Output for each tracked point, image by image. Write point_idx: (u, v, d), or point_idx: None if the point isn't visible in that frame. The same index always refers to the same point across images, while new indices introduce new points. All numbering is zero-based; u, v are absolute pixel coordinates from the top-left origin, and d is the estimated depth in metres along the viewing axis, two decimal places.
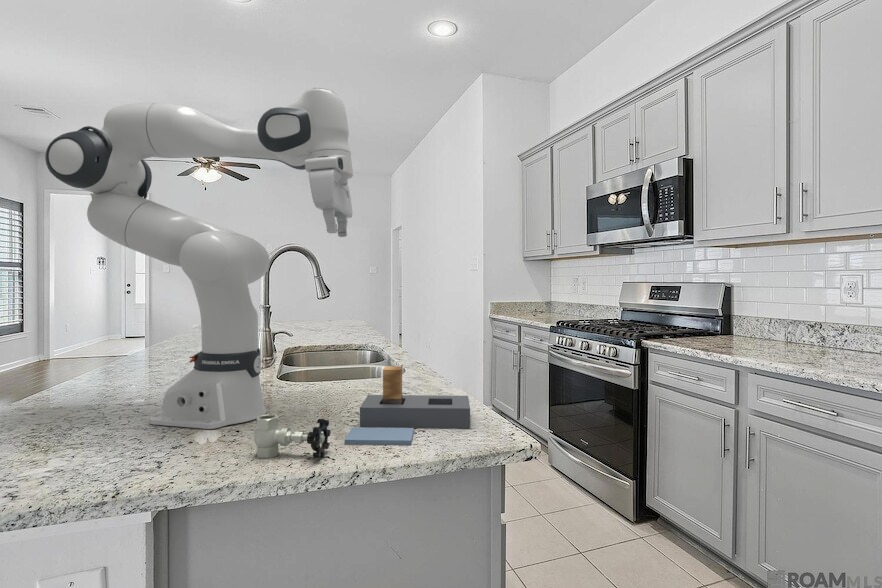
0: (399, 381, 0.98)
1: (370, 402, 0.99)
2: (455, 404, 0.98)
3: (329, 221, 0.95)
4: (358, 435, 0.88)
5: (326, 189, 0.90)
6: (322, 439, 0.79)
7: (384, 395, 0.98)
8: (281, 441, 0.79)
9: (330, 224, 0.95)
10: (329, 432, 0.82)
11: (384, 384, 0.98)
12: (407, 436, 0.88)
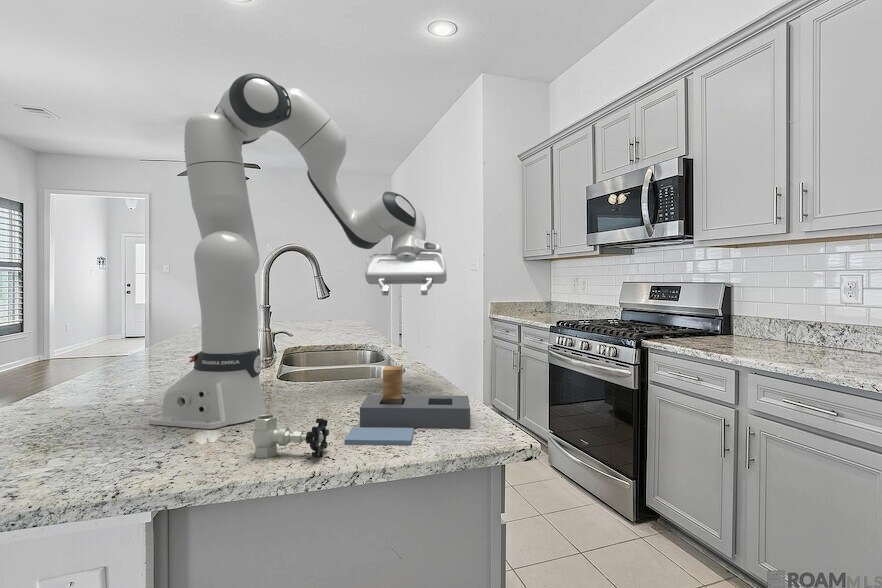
0: (399, 381, 0.98)
1: (370, 402, 0.99)
2: (455, 404, 0.98)
3: (429, 286, 1.15)
4: (358, 435, 0.88)
5: None
6: (321, 439, 0.79)
7: (384, 395, 0.98)
8: (280, 441, 0.79)
9: (427, 288, 1.15)
10: (327, 432, 0.82)
11: (384, 384, 0.98)
12: (407, 436, 0.88)
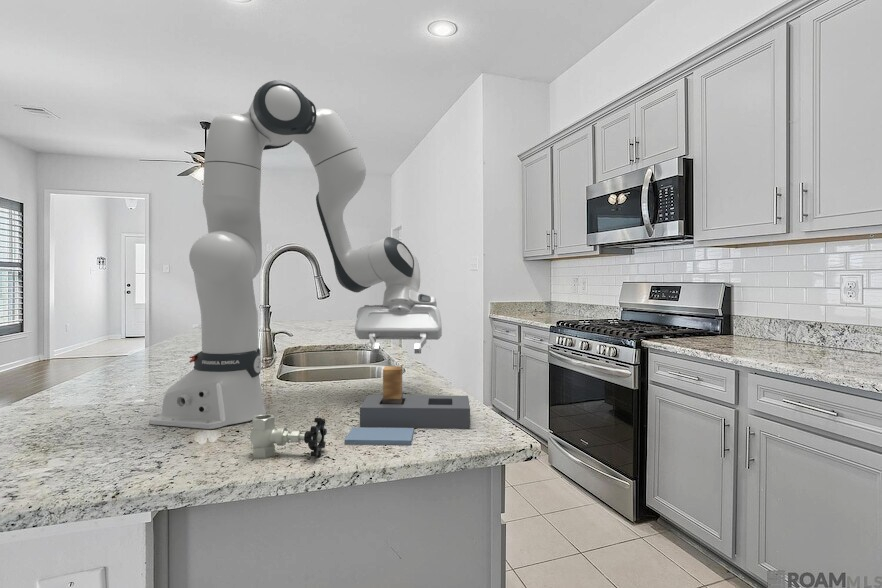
0: (399, 381, 0.98)
1: (370, 402, 0.99)
2: (455, 404, 0.98)
3: (422, 344, 1.08)
4: (358, 435, 0.88)
5: None
6: (319, 438, 0.80)
7: (384, 395, 0.98)
8: (278, 441, 0.79)
9: (421, 346, 1.08)
10: (325, 431, 0.83)
11: (384, 384, 0.98)
12: (407, 436, 0.88)
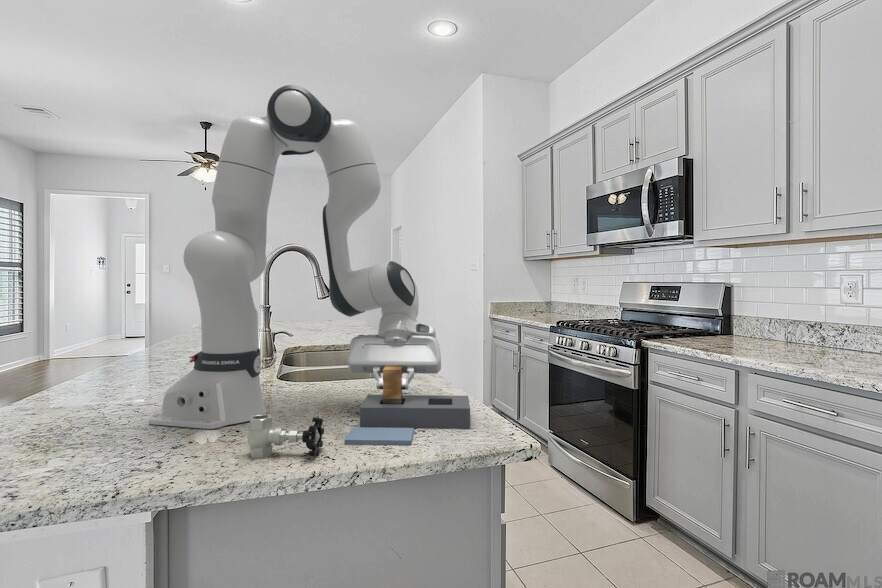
0: (399, 381, 0.98)
1: (370, 402, 0.99)
2: (455, 404, 0.98)
3: (410, 379, 1.01)
4: (358, 435, 0.88)
5: None
6: (317, 437, 0.80)
7: (384, 395, 0.98)
8: (276, 440, 0.79)
9: (408, 381, 1.00)
10: (323, 430, 0.83)
11: (384, 384, 0.98)
12: (407, 436, 0.88)
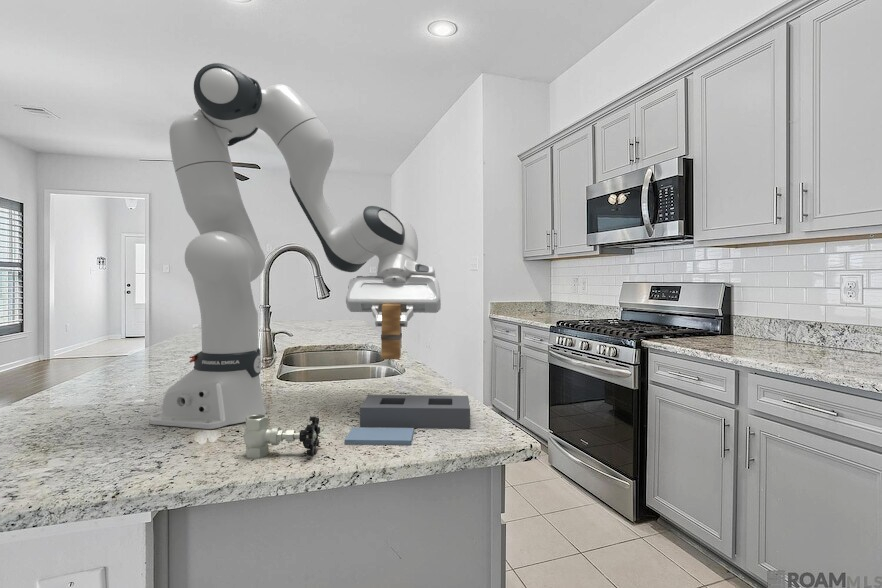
0: (398, 317, 0.96)
1: (370, 402, 0.99)
2: (455, 404, 0.98)
3: (409, 316, 0.99)
4: (358, 435, 0.88)
5: None
6: (314, 436, 0.80)
7: (383, 331, 0.97)
8: (273, 440, 0.79)
9: (407, 318, 0.99)
10: (319, 429, 0.83)
11: (383, 320, 0.97)
12: (407, 436, 0.88)
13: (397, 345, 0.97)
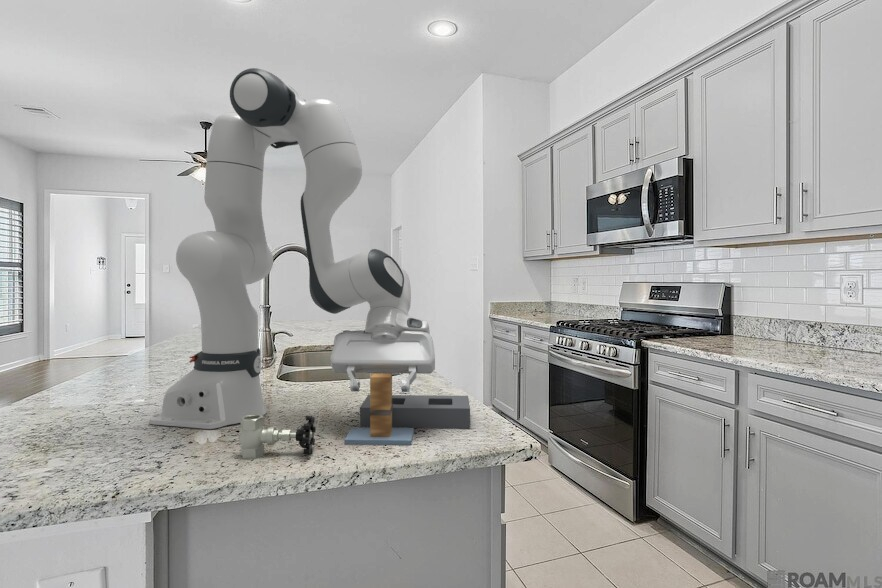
0: (388, 390, 0.87)
1: None
2: (455, 404, 0.98)
3: (411, 380, 0.89)
4: (358, 435, 0.88)
5: None
6: (311, 435, 0.81)
7: (371, 406, 0.87)
8: (269, 440, 0.79)
9: (410, 382, 0.89)
10: (314, 429, 0.84)
11: (371, 393, 0.87)
12: (407, 436, 0.88)
13: (388, 421, 0.87)
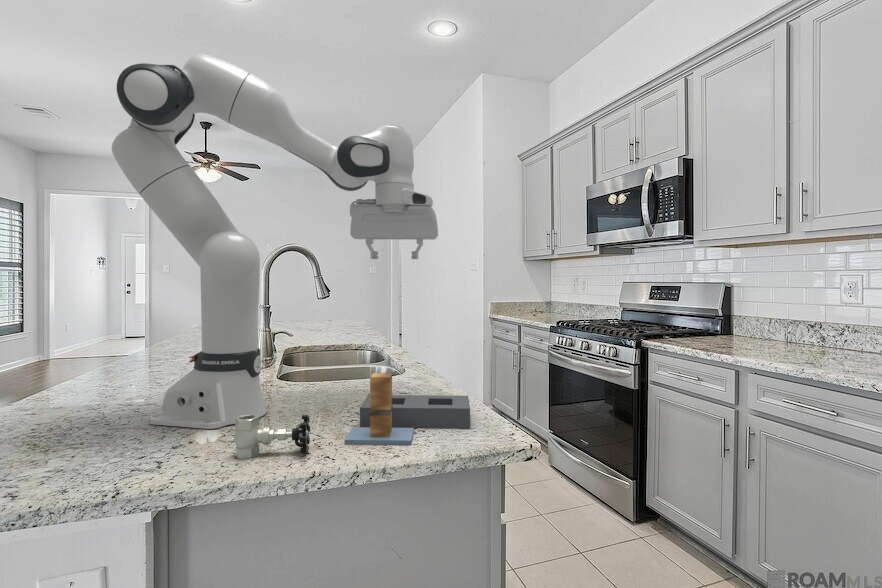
0: (388, 390, 0.87)
1: None
2: (455, 404, 0.98)
3: (419, 249, 1.10)
4: (358, 435, 0.88)
5: None
6: (307, 434, 0.81)
7: (371, 406, 0.87)
8: (265, 440, 0.79)
9: None
10: (309, 428, 0.84)
11: (371, 393, 0.87)
12: (407, 436, 0.88)
13: (388, 421, 0.87)
